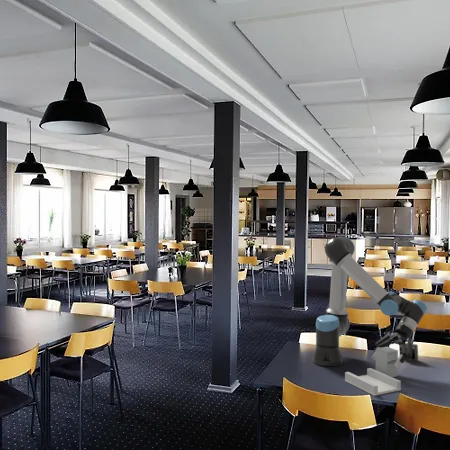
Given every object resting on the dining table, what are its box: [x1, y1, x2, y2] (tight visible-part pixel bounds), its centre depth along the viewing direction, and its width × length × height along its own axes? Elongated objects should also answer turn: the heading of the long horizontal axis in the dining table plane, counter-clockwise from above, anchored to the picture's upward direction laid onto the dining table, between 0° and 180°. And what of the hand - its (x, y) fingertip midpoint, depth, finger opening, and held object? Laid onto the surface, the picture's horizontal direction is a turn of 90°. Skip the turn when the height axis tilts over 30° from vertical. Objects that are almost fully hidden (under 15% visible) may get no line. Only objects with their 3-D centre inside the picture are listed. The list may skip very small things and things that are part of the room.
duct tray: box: [344, 367, 402, 397], centre depth 206 cm, size 19×15×4 cm
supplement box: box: [375, 346, 399, 378], centre depth 219 cm, size 7×7×13 cm
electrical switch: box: [398, 342, 419, 363], centre depth 241 cm, size 9×5×9 cm, turn 57°
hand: (384, 363), depth 218 cm, fingers open, 13 cm apart
